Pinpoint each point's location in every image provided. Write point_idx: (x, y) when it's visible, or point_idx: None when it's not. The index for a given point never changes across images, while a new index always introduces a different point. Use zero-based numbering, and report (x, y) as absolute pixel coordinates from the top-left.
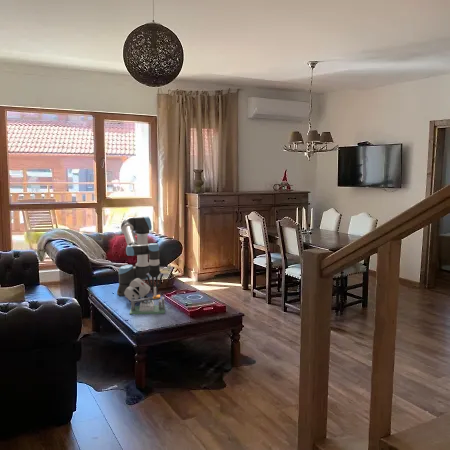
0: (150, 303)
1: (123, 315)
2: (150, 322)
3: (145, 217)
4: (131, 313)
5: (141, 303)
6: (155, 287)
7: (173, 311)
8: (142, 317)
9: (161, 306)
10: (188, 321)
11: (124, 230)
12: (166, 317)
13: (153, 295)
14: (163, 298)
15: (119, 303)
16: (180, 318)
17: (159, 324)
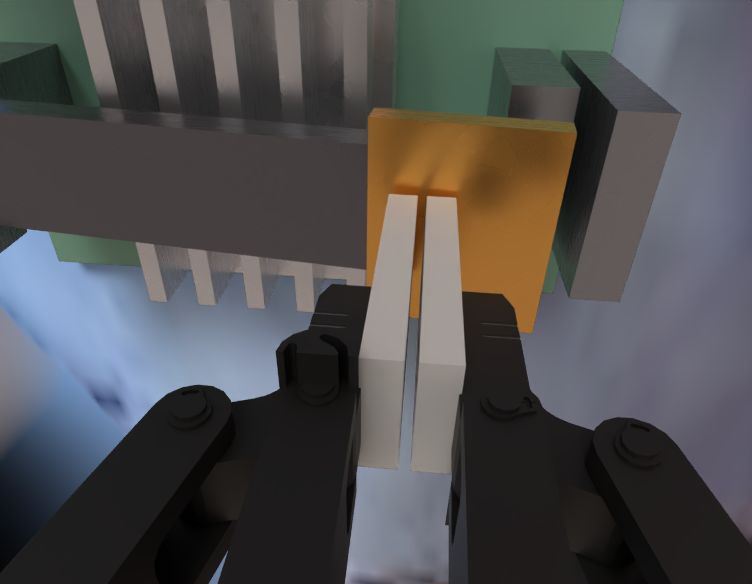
0: (319, 45)
1: (3, 261)
2: (361, 484)
3: None
4: (88, 260)
5: (156, 254)
6: (427, 431)
7: (705, 222)
8: (260, 360)
9: None
10: (742, 527)
11: None
12: (543, 406)
13: (371, 129)
14: (619, 242)
15: None
16: (695, 455)
17: (444, 531)
